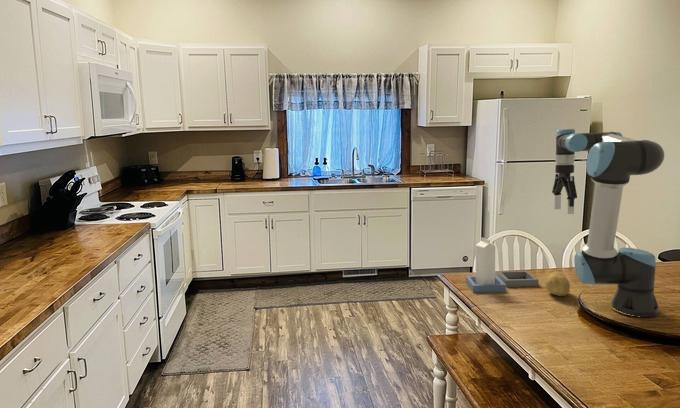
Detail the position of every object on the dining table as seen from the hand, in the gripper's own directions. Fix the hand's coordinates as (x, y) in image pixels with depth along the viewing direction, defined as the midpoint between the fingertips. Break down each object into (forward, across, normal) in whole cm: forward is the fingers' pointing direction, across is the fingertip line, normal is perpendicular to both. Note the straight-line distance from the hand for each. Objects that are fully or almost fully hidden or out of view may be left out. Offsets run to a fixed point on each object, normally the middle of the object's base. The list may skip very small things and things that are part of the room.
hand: (563, 211), depth 214 cm
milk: (+32, -8, +37) cm, 49 cm away
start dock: (+31, -2, +21) cm, 38 cm away
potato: (+32, -20, +10) cm, 39 cm away
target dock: (+31, -8, +37) cm, 49 cm away
